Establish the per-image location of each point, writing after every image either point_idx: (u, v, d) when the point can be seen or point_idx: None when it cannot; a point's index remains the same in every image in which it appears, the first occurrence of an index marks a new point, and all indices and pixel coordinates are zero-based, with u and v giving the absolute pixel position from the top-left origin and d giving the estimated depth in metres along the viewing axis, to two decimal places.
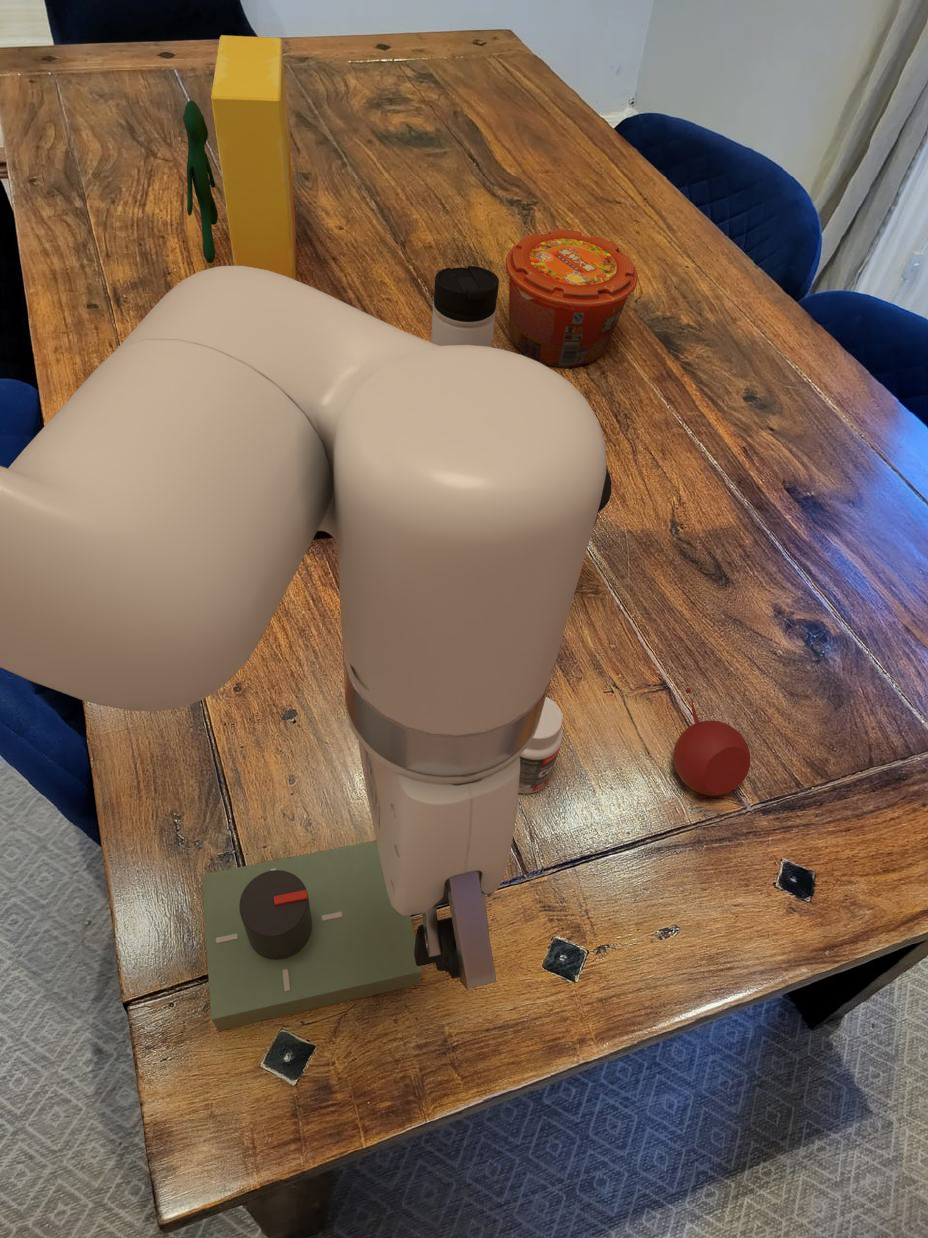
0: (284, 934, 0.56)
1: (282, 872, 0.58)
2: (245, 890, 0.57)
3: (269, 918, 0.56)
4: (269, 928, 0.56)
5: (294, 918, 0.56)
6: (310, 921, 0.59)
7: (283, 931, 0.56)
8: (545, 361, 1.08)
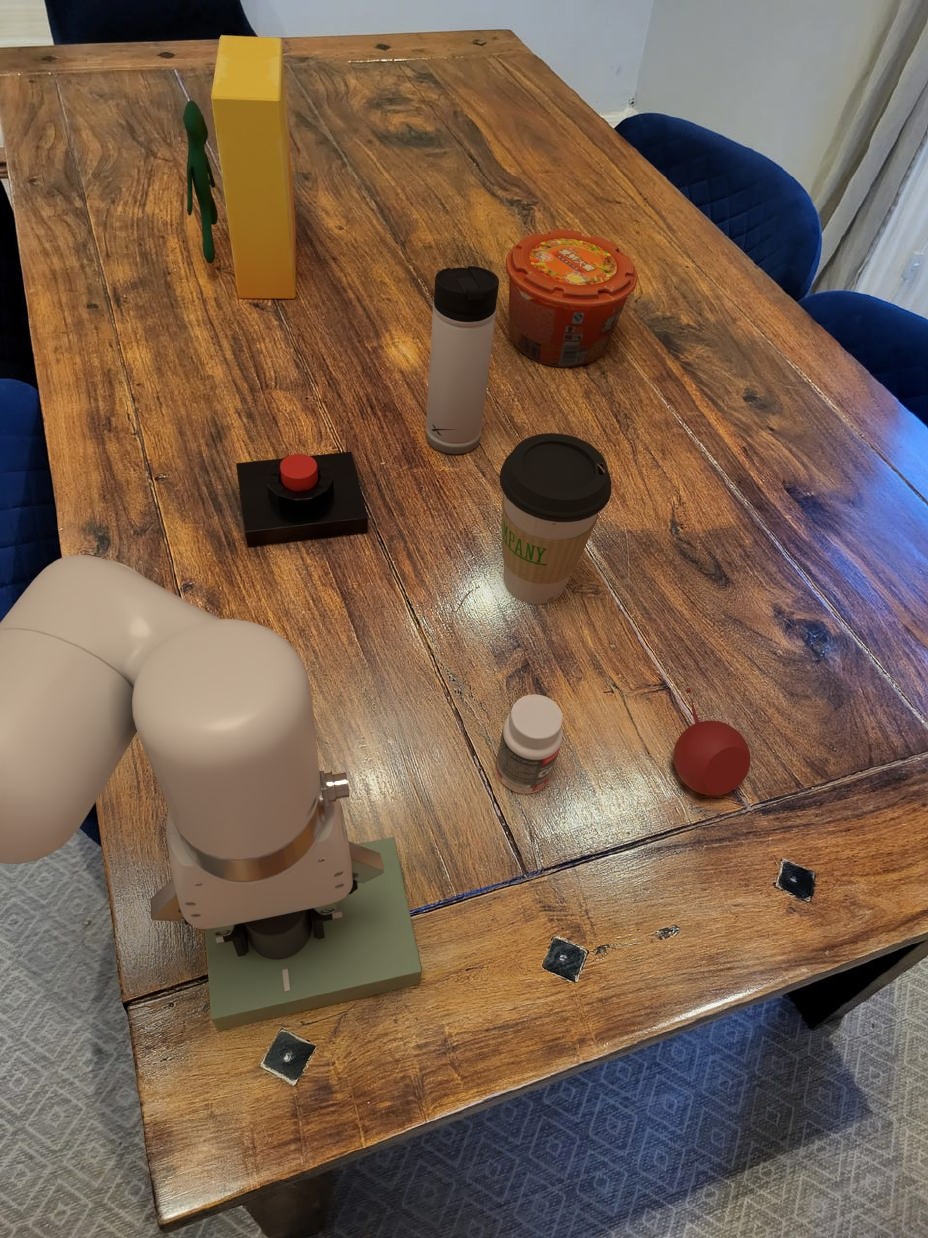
0: (284, 934, 0.56)
1: None
2: None
3: (270, 918, 0.56)
4: (269, 928, 0.56)
5: (294, 918, 0.56)
6: (310, 921, 0.59)
7: (283, 931, 0.56)
8: (545, 361, 1.08)
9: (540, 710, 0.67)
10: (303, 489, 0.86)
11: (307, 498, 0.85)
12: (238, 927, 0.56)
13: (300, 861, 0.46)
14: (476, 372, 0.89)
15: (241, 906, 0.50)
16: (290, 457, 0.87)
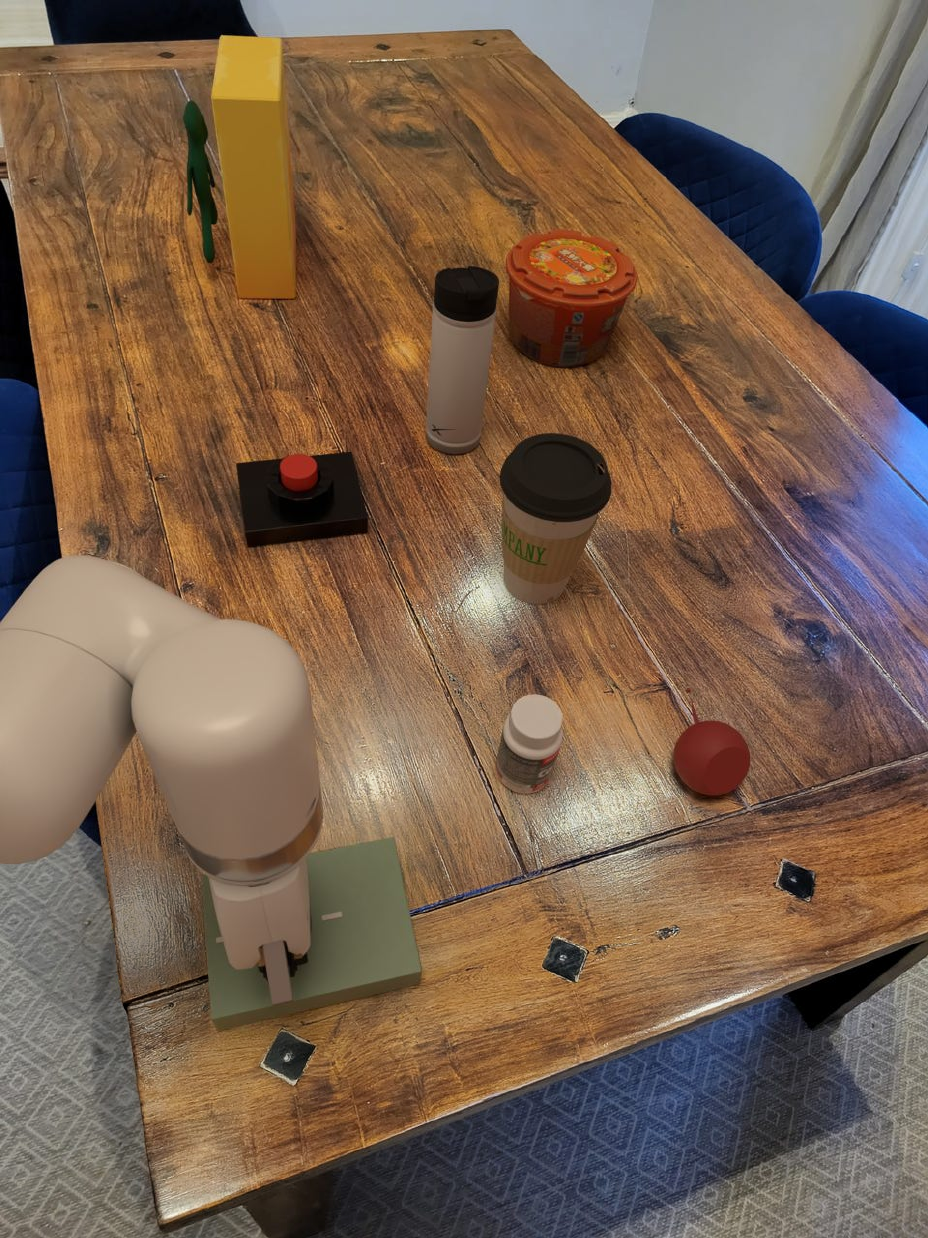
0: None
1: None
2: None
3: None
4: None
5: None
6: None
7: None
8: (545, 361, 1.08)
9: (540, 710, 0.67)
10: (303, 489, 0.86)
11: (307, 498, 0.85)
12: None
13: None
14: (476, 372, 0.89)
15: None
16: (290, 457, 0.87)
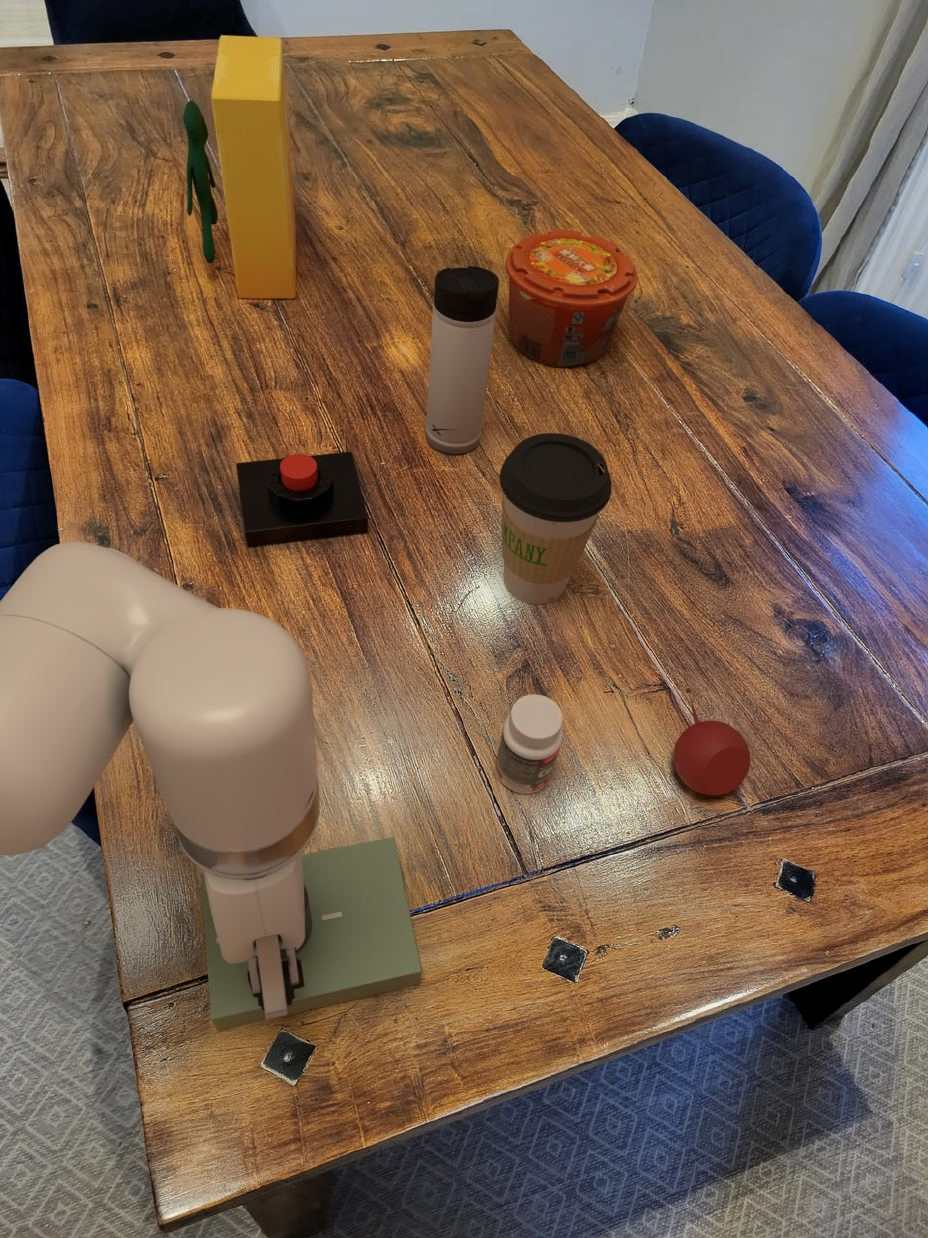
0: (306, 891, 0.58)
1: None
2: None
3: None
4: None
5: None
6: None
7: (304, 890, 0.57)
8: (545, 361, 1.08)
9: (540, 710, 0.67)
10: (303, 489, 0.86)
11: (307, 498, 0.85)
12: None
13: None
14: (476, 372, 0.89)
15: None
16: (290, 457, 0.87)
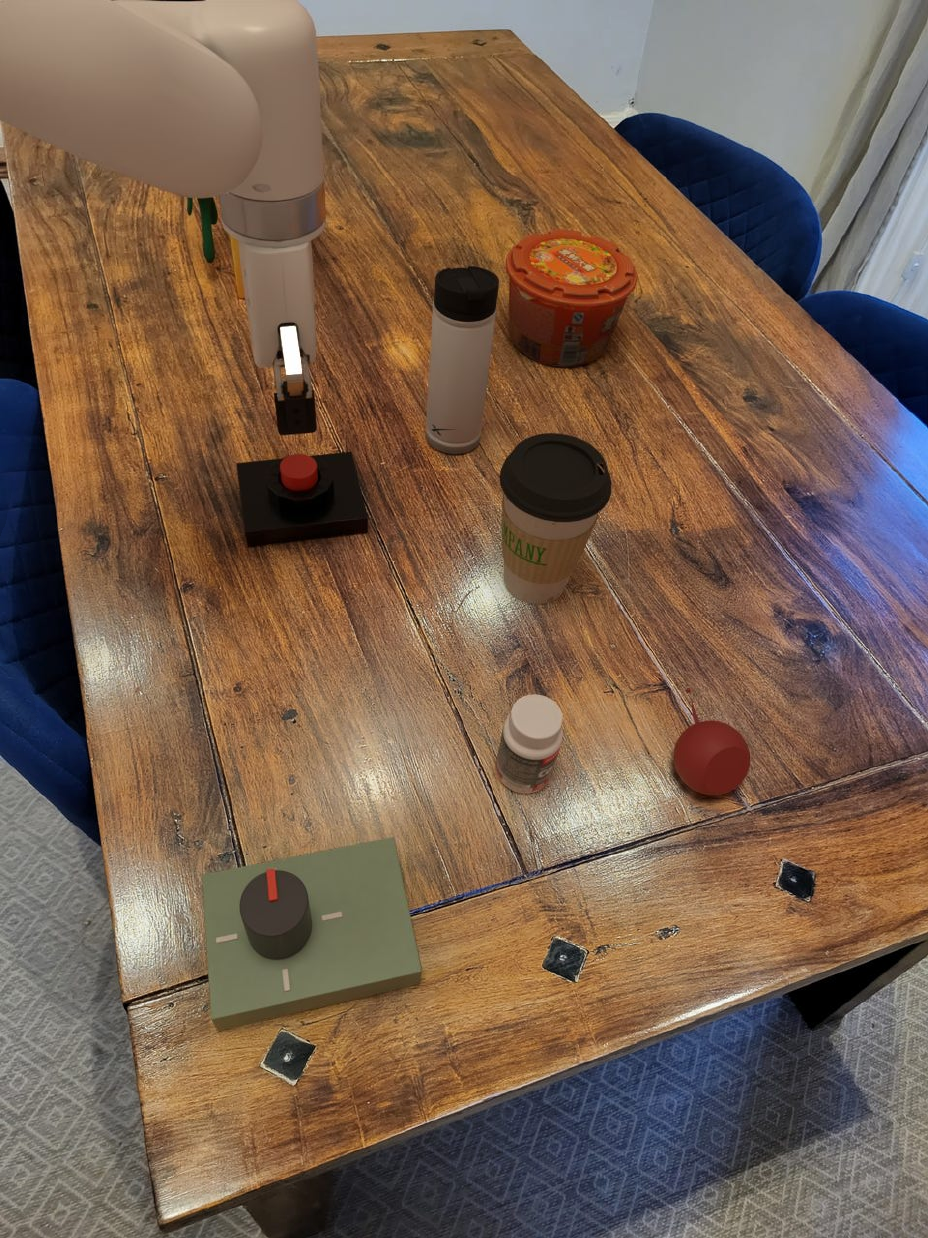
0: (306, 891, 0.58)
1: (243, 896, 0.57)
2: (257, 931, 0.56)
3: (290, 904, 0.57)
4: (300, 904, 0.57)
5: (292, 881, 0.58)
6: None
7: (304, 890, 0.57)
8: (545, 361, 1.08)
9: (540, 710, 0.67)
10: (303, 489, 0.86)
11: (307, 498, 0.85)
12: None
13: None
14: (476, 372, 0.89)
15: None
16: (290, 457, 0.87)
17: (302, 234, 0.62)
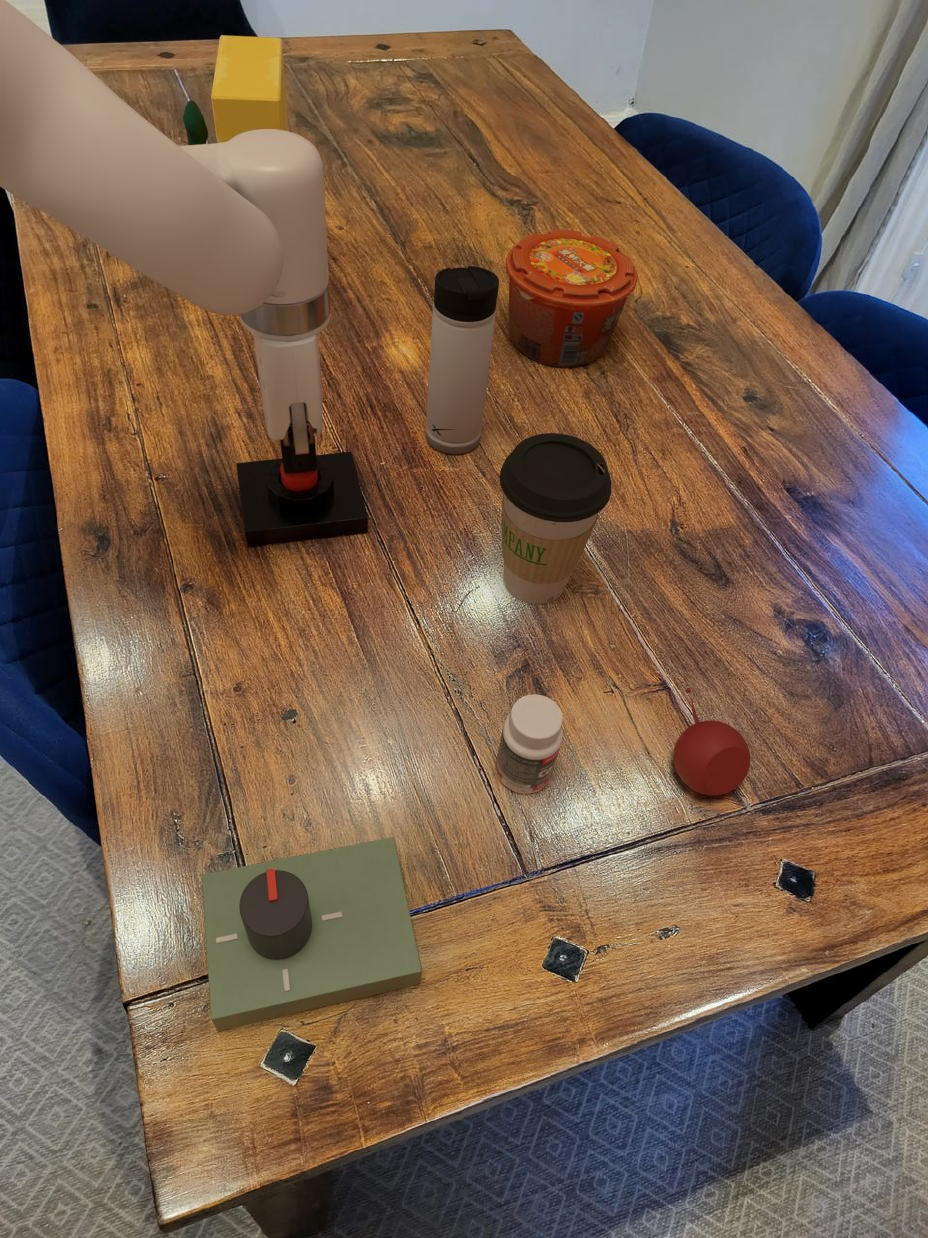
0: (306, 891, 0.58)
1: (243, 896, 0.57)
2: (257, 931, 0.56)
3: (290, 904, 0.57)
4: (300, 904, 0.57)
5: (292, 881, 0.58)
6: None
7: (304, 890, 0.57)
8: (545, 361, 1.08)
9: (540, 710, 0.67)
10: None
11: (307, 498, 0.85)
12: None
13: None
14: (476, 372, 0.89)
15: None
16: None
17: (311, 329, 0.71)
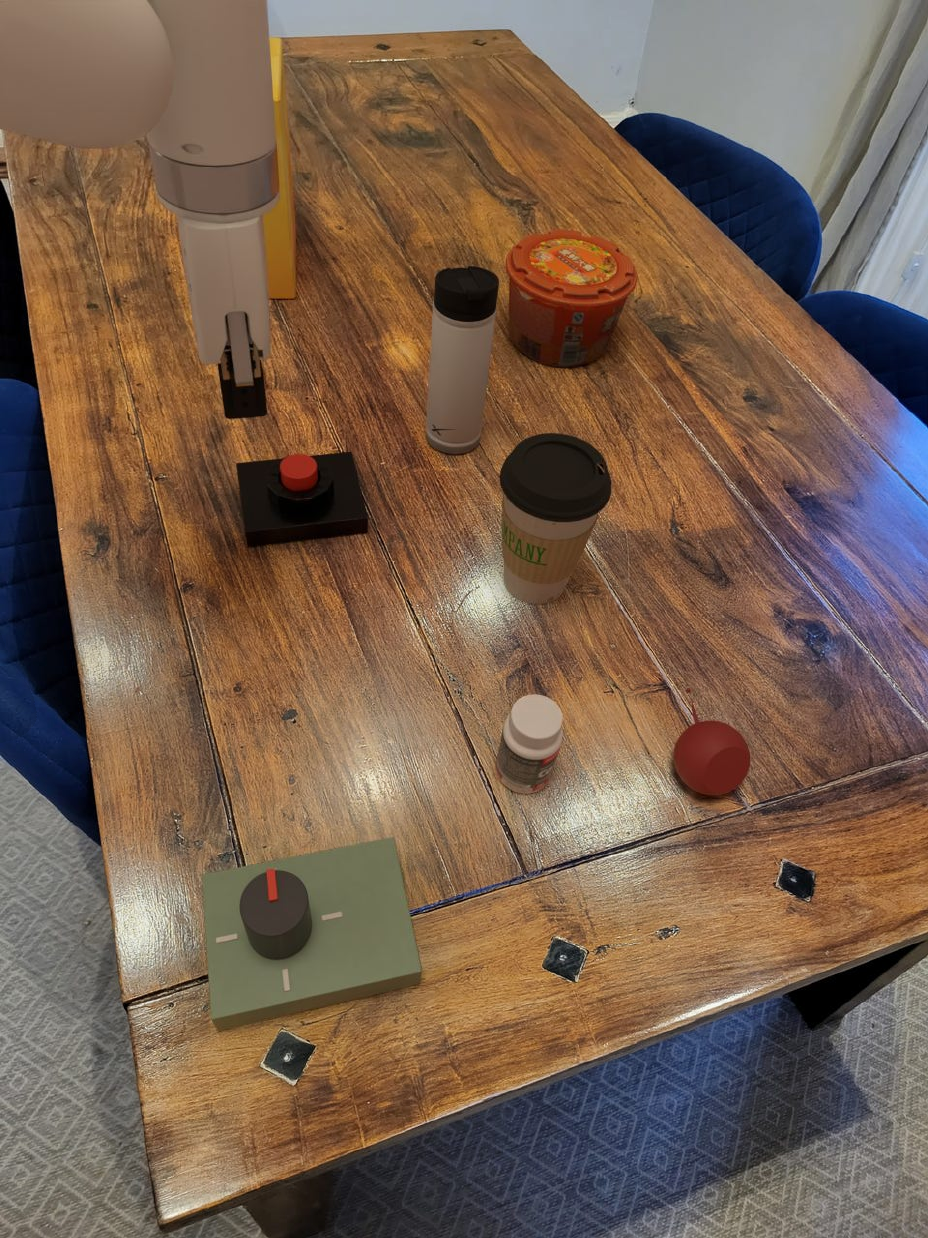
0: (306, 891, 0.58)
1: (243, 896, 0.57)
2: (257, 931, 0.56)
3: (290, 904, 0.57)
4: (300, 904, 0.57)
5: (292, 881, 0.58)
6: None
7: (304, 890, 0.57)
8: (545, 361, 1.08)
9: (540, 710, 0.67)
10: (303, 489, 0.86)
11: (307, 498, 0.85)
12: None
13: None
14: (476, 372, 0.89)
15: None
16: (290, 457, 0.87)
17: (251, 207, 0.53)
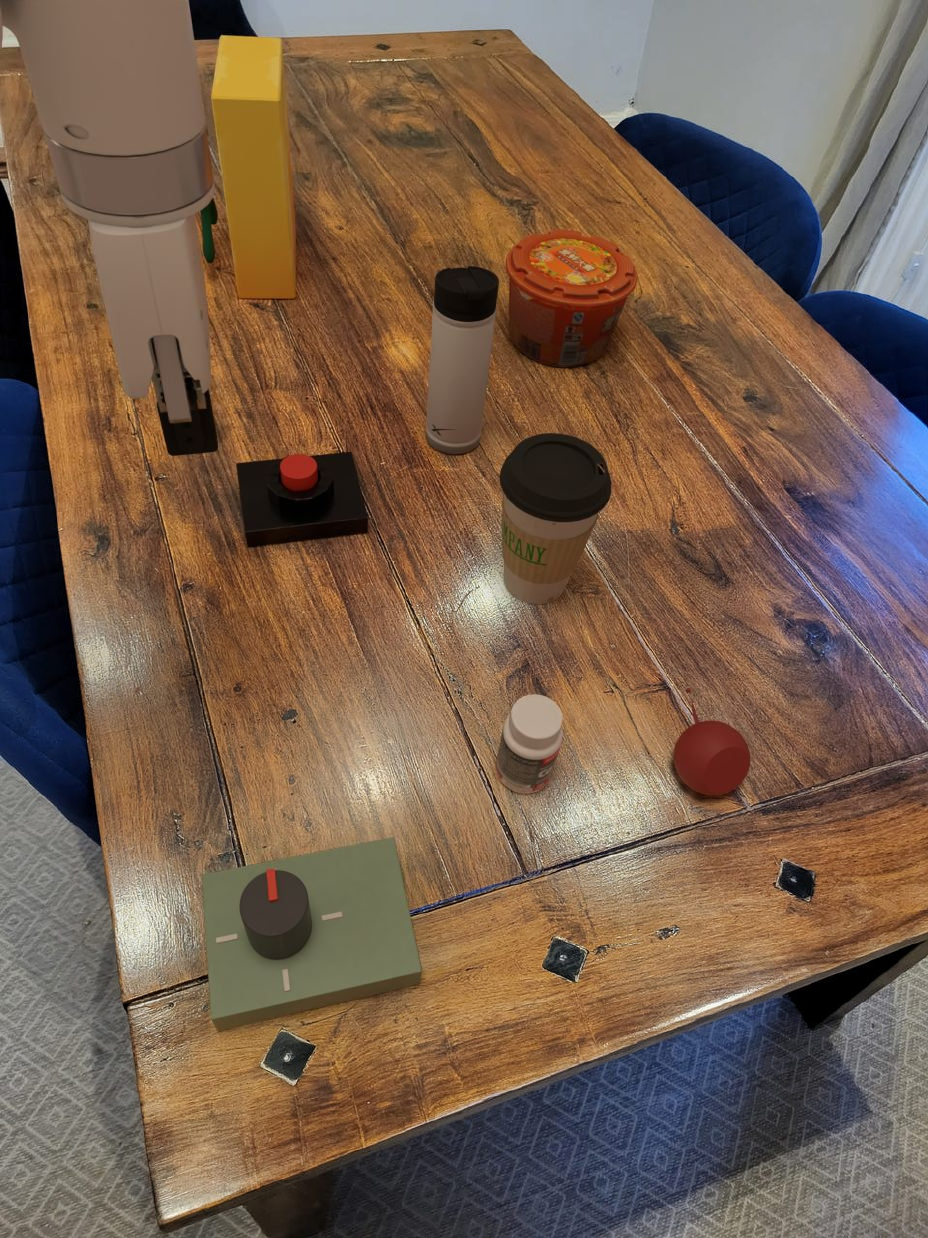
0: (306, 891, 0.58)
1: (243, 896, 0.57)
2: (257, 931, 0.56)
3: (290, 904, 0.57)
4: (300, 904, 0.57)
5: (292, 881, 0.58)
6: None
7: (304, 890, 0.57)
8: (545, 361, 1.08)
9: (540, 710, 0.67)
10: (303, 489, 0.86)
11: (307, 498, 0.85)
12: None
13: None
14: (476, 372, 0.89)
15: None
16: (290, 457, 0.87)
17: (174, 207, 0.43)
